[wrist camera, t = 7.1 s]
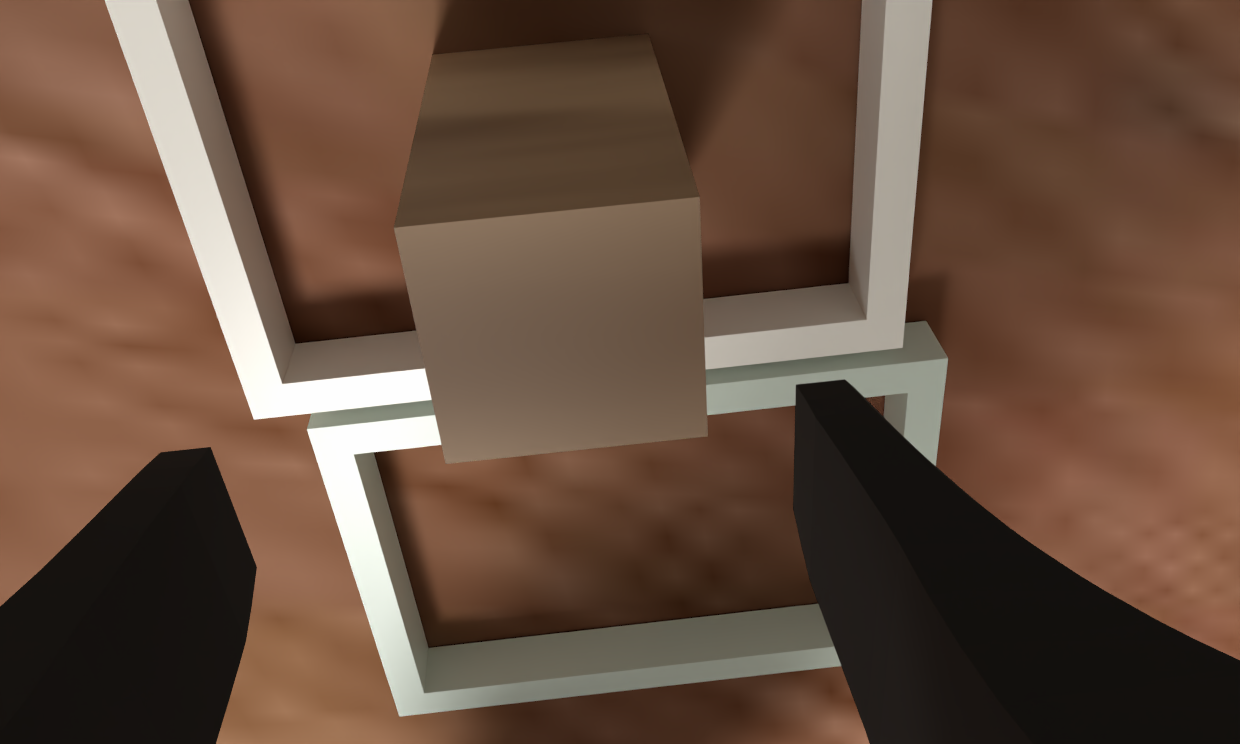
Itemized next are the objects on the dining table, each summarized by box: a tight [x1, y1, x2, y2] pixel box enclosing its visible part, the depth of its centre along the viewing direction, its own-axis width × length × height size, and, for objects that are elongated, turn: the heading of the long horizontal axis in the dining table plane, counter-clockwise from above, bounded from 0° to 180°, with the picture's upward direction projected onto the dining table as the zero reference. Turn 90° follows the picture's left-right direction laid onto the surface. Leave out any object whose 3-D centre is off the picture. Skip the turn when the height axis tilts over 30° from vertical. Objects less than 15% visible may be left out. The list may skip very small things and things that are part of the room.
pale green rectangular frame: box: [307, 321, 948, 717], centre depth 26 cm, size 10×14×2 cm
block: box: [394, 34, 708, 464], centre depth 18 cm, size 4×4×7 cm
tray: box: [105, 0, 932, 419], centre depth 20 cm, size 10×14×2 cm
